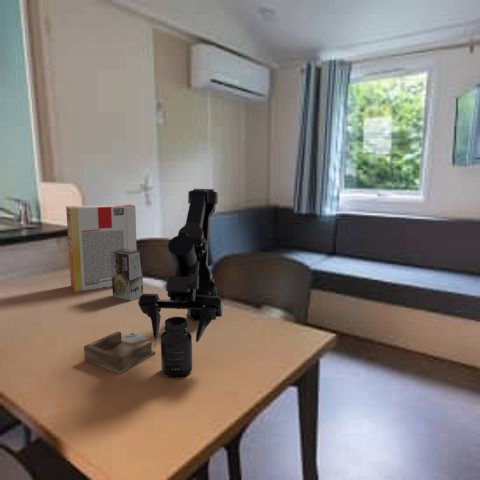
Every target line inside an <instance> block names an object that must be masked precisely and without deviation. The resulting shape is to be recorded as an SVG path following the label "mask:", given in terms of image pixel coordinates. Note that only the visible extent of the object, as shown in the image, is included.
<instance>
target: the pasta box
mask: <svg viewBox="0 0 480 480" xmlns="http://www.w3.org/2000/svg"><path fill="white" fill-rule="evenodd" d="M65 208H66V209H65V210H66V226H67V227H66V228H67V241H68V256H69V257H68V258H69V274H70V275H69V277H70V287H71V286H72V287H71V288H72V290H73V291H74V292H76V291H77V292H83V290H84V291H91V290H98V289H97V288H99V289H104V288H103V287H106V288H112V287H111V286H112V270H111V253H110V252H113V251H116V250H120V249H129V250H135V251H138V250H137V245H138V244H137V220H136V219H137V217H136V212H137V211H136V205H134V204H133V205H132V204H131V203H125V204H124V203H123V204H121V203H119V204H95V205H93V204H92V205H66V206H65ZM90 289H91V290H90Z"/></svg>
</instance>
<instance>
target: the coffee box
mask: <svg viewBox="0 0 480 480" xmlns="http://www.w3.org/2000/svg"><path fill="white" fill-rule="evenodd" d="M110 253H111V270H112V287H111V288H112V297H113V298H118V299H122V300H126V301H130V302H132V301H134V300H138V299H139V297H140V296H141V295H142V294H143V293H144V284H143V283H144V279H143V278H144V277H143V251H140V250H137V251H135V250H129V249H120V250H116V251H113V252H110Z"/></svg>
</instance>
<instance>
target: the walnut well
mask: <svg viewBox="0 0 480 480" xmlns="http://www.w3.org/2000/svg"><path fill="white" fill-rule="evenodd" d="M83 352H84V354H83V355H84V361H85V362H87V363H90V364H93V365H95V366H98V367H101V368H103V369H104V370H105V369H106V370H108V371H111V372H113V373H116V374H118V375H120V374H122V373H124V372H126V371H127V370H129V369H131V368H132V367H134V366H136V365H138V364H140V363H142V362H143V361H145V360H147V359H149V358H150V357H152V356H154V355H156V351H154V350H153V349H152V341H150V340H145V341H143V342H142V343H140V344H138V345H136V344H134V343H127V342H124V341H123V340H122V331H115V332H113V333H110V334H109V335H106V336H104V337H102V338H100V339H97V340H95V341H93V342H91V343H87V344H86V345H84V346H83Z"/></svg>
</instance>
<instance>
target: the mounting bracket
mask: <svg viewBox="0 0 480 480" xmlns="http://www.w3.org/2000/svg"><path fill="white" fill-rule="evenodd" d="M121 341H124V342H127V343H130V344H134V343H138V342H145V341H148V340H147V337H146V336H145V334H144V333H139V334H137V332H129V333H127V334H126V338H121Z"/></svg>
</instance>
